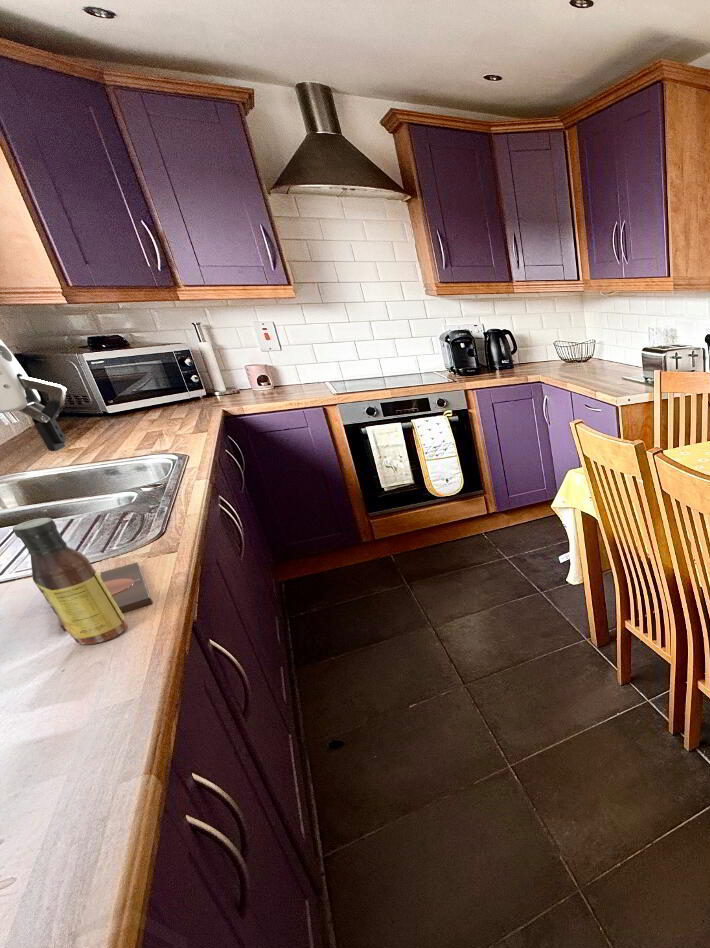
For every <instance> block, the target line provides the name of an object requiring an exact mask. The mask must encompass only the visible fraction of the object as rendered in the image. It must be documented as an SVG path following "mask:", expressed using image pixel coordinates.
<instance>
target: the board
mask: <svg viewBox="0 0 710 948" xmlns="http://www.w3.org/2000/svg"><path fill="white" fill-rule="evenodd" d="M97 573H98V575H99V576H100V578H101V580H102V581H103V583H104V585H105V586H106V588H107V589H108V591H109V593H110V594H111V596H112V598H113V599H114V601H115V602H116V604H117V606H118V607H119V609H120V611H121V612H122V614H124V613H126V612H130V611H134V610H136V609H139V608H143V607H145V606H149V605H153V600H152V597H151V594H150V591H149V588H148V586H147V582H146V579H145V577H144V573H143V571H142V568H141V566H140V564H139V562H132V563H130V564H126V565H121V566H119V567H115V568H111V569H108V570H104V571H101V572H97ZM59 626H60V628H61V630H62V631H63V632H68V631H67V630H66V628H65V627H64V625H63V624H62V622H61V621H60V620H59Z"/></svg>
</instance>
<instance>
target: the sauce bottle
mask: <svg viewBox="0 0 710 948" xmlns="http://www.w3.org/2000/svg"><path fill="white" fill-rule="evenodd" d="M57 526H58V525H57V524H56V522H55V521H54V519H53V518H51V517H41V518H40V517H39V518H35V519H30V520H27V521H24V522H21V523H18V524H16V525H14V526H13V527H12V531H13V533H14V535H15V536H16V537H17V538H19V539H20V540H21V542H22V544H23V545H24V546H25V548H26V549H27V551H28V554H29V555H30V564H31V573H32V574H31V575H32V580H33V583H34V584H35V585H36V587H37V589H38V590H39V591H40V592H41V594H42V596H43V597H44V599H45V601H46V602H47V603H48V605H49V606H50V607H51V609H52V611H53V612H54V614H55V615H56V617H57V618H58V619H59V622H60V621H61V622H62V624H63V625H64V627H65V628H66V630H67V631H66V632H67V633H68V634H69V636H70V637H71V638H72V639H74V642H76V644H78V645H81V646H88V645H89V646H90V645H96V644H100V643H104V642H107V641H111V640H113V639H115V638H116V637H118V636H119V635H121V634H123V633H124V632H125V631H126V630H127V629H128V623H127V622H126V620H125V616H124V613H122V612H121V611H120V609H119V607H118V606H117V604H116V602H115V601H114V599H113V598H112V596H111V594H110V593H109V591H108V589H107V588H106V586H105V585H104V583H103V581H102V580H101V578H100V576H99V575H98V573H99V572H97V570H96V569H94V567H93V565H92V564H91V562H90V560H89V559H88V557H87V556H86V555H85V554H83V553H81V552H80V551H78V550H77V549H74V548H72V547H70V546H68V545H67V541H65V540H64V538H63V537H62V535H61V534H60V532H59V530H58V527H57Z"/></svg>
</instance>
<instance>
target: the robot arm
mask: <svg viewBox="0 0 710 948" xmlns="http://www.w3.org/2000/svg"><path fill="white" fill-rule="evenodd" d="M38 391H39V392H43V393H46V394H48V401H47V403H46V404H45V405H43V404H41V403H40V402H41V396H40V394H39V392H38ZM66 395H67V388H66V387H65V386H64V385H62V384H58V383H53V382H50V381H49V382H48V381H45V380H41V379H37V378H33V377H29V376H28V374H27V372H26V371H25V370H24V368H23V367H22V366H21V363H19V360H17V358H16V357H15V356H14V354H13V353H12V352H11V350H10V349H9V347H8V346H7V345H6V343H4V341H3V340H2V339H1V338H0V414H5V413H12V412H20V413H22V414H24V415H26V416H28V417H30V418H32V419H33V420H36V423H35V425H34V426H35V429H36V430H37V432H38V433H39V435H40V437H41V439H42V442H43V443H44V445H45V446H46V448H47V450H48V451H49V452H57V451H60V450H62V449H64V448H65V447H66V444H65V443H66V442H67V441H66V440H67V439H66V437H65V435H64V433H63V431H62V429H61V427H60V426H59V423H58V421H57V420H56V419H58V417H59V414H60V413H61V412H62V410H63V409H64V407H65V405H66V404H65V400H66Z"/></svg>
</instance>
